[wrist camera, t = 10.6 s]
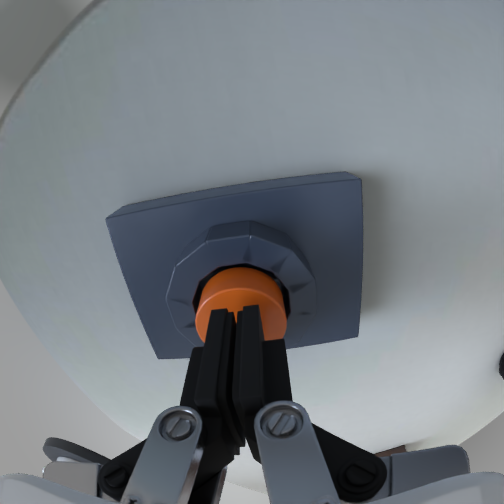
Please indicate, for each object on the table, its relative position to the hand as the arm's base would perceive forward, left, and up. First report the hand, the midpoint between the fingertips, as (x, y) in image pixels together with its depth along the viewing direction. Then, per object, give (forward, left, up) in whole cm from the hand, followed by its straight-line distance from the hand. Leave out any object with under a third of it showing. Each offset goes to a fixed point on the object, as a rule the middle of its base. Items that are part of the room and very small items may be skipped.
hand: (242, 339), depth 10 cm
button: (0, 0, -3) cm, 3 cm away
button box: (0, 0, -6) cm, 6 cm away
